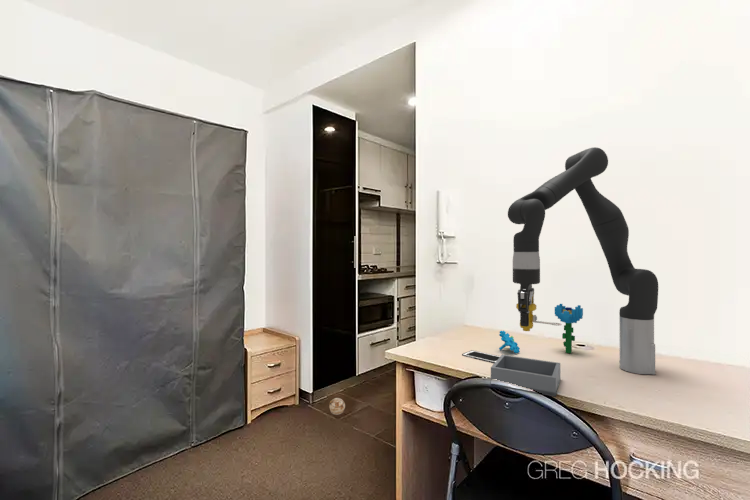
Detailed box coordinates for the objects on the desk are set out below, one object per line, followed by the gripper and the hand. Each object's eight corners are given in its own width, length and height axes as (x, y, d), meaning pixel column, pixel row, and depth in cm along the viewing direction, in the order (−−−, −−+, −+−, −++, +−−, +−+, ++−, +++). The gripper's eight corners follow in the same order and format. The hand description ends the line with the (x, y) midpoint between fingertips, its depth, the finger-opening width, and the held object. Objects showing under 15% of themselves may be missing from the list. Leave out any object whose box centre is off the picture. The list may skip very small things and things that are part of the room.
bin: (560, 379, 109) (560, 362, 109) (555, 396, 96) (555, 378, 96) (502, 369, 118) (502, 354, 118) (490, 384, 105) (490, 367, 105)
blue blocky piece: (518, 354, 132) (498, 332, 136) (506, 363, 135) (487, 341, 138) (524, 347, 142) (506, 326, 145) (512, 355, 144) (495, 335, 148)
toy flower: (579, 357, 131) (579, 308, 131) (552, 352, 137) (552, 305, 137) (584, 351, 138) (584, 305, 138) (558, 347, 144) (558, 302, 144)
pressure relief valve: (520, 327, 111) (520, 295, 111) (563, 333, 103) (563, 298, 103) (514, 331, 107) (514, 297, 107) (559, 337, 99) (558, 300, 99)
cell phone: (498, 365, 124) (498, 362, 124) (460, 356, 134) (460, 354, 134) (508, 360, 129) (508, 358, 129) (471, 352, 139) (471, 349, 139)
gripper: (536, 268, 99) (536, 330, 99) (543, 266, 111) (543, 321, 111) (507, 268, 103) (508, 327, 103) (517, 266, 115) (517, 319, 115)
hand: (526, 324), depth 107 cm, fingers closed on pressure relief valve, 5 cm apart
